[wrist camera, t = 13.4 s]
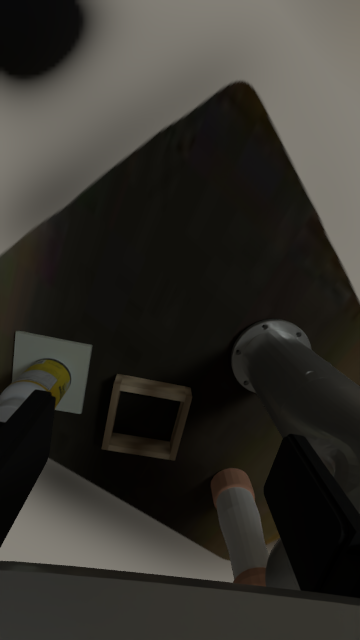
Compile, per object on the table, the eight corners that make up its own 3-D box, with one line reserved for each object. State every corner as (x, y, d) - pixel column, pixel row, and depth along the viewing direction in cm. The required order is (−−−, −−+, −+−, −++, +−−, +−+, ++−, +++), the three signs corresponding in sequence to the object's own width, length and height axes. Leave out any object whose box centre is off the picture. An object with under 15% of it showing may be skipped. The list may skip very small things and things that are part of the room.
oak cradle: (190, 387, 44) (192, 397, 41) (174, 447, 47) (174, 460, 45) (117, 373, 43) (113, 383, 40) (105, 436, 46) (101, 449, 43)
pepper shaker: (206, 495, 51) (228, 640, 32) (216, 464, 49) (246, 599, 31) (242, 501, 52) (284, 644, 33) (254, 471, 50) (305, 605, 31)
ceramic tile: (92, 345, 41) (91, 346, 41) (82, 411, 45) (80, 414, 44) (17, 330, 40) (15, 331, 40) (12, 400, 43) (10, 402, 43)
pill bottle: (50, 400, 43) (10, 457, 32) (20, 371, 41) (-33, 420, 30) (82, 378, 42) (51, 428, 31) (52, 347, 41) (9, 388, 29)
